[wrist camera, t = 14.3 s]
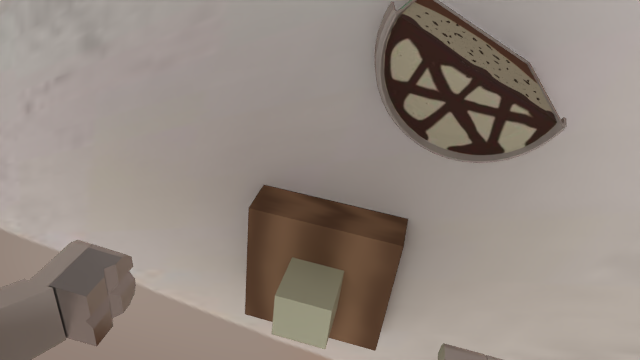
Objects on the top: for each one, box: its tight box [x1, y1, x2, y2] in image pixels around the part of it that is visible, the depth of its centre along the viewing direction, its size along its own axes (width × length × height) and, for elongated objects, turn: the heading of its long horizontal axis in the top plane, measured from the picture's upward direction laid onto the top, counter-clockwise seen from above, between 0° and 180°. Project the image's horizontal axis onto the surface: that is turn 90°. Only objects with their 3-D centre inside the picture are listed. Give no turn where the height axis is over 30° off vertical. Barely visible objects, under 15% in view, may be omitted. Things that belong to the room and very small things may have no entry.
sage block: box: [272, 257, 344, 349], centre depth 44 cm, size 5×5×5 cm
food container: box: [375, 0, 566, 163], centre depth 32 cm, size 12×6×10 cm, turn 61°
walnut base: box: [245, 185, 408, 350], centre depth 47 cm, size 14×14×4 cm
